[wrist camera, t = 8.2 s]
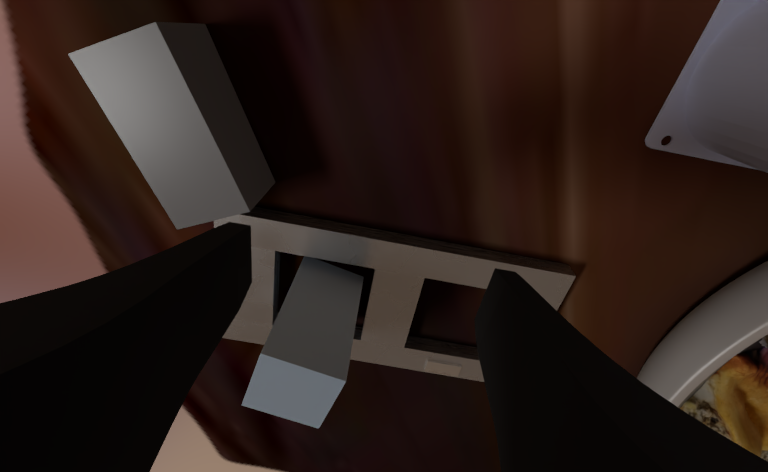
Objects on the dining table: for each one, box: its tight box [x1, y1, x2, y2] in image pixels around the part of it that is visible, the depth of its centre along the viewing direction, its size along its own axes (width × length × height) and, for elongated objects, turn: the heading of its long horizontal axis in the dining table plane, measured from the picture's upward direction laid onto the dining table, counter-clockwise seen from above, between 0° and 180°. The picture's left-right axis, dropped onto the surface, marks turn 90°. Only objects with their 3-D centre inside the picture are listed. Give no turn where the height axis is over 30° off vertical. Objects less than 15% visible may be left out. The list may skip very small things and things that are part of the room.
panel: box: [214, 207, 576, 382], centre depth 23 cm, size 21×10×1 cm, turn 80°
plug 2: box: [242, 256, 364, 429], centre depth 20 cm, size 4×4×8 cm
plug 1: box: [68, 22, 275, 229], centre depth 17 cm, size 8×4×4 cm, turn 15°
